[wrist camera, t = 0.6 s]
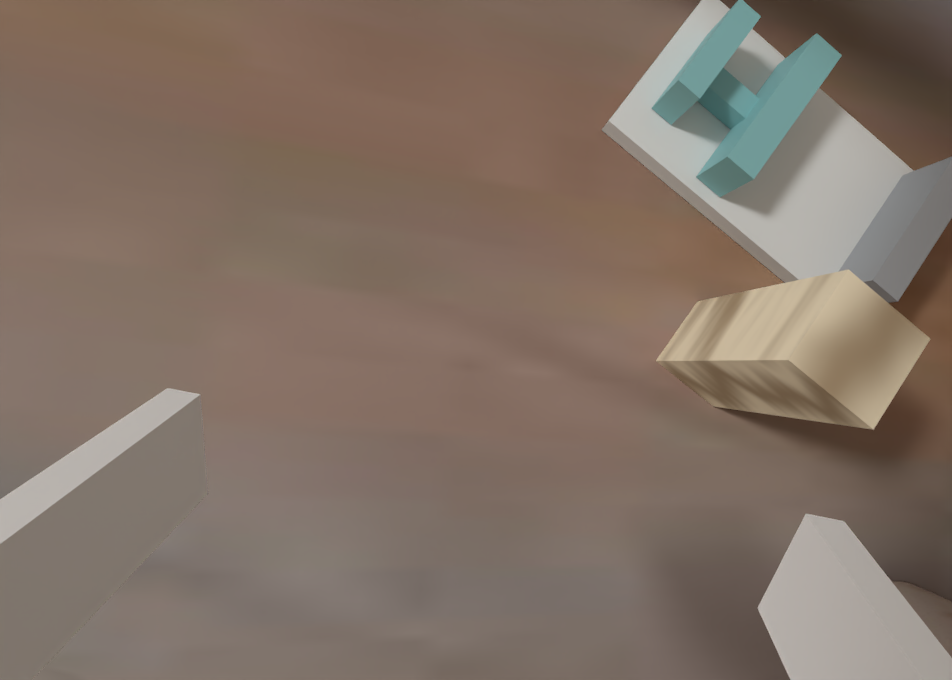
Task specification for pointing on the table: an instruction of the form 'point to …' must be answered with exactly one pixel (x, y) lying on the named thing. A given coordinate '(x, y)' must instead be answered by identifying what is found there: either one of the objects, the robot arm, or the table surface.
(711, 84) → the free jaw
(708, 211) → the bed
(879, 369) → the birch block
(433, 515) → the table surface
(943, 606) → the lamp
